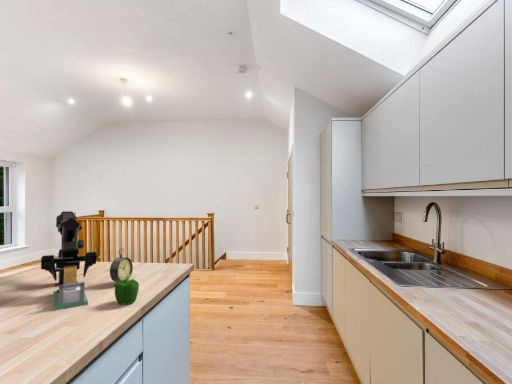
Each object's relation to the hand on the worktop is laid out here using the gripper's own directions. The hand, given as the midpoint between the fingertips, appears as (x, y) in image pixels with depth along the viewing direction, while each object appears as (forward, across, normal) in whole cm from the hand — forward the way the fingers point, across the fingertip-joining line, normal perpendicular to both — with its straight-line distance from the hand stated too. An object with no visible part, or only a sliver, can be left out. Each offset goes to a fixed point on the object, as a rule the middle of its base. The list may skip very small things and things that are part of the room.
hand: (70, 278), depth 111 cm
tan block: (+6, 0, +3) cm, 7 cm away
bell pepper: (+17, +17, -6) cm, 25 cm away
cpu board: (+6, 0, +5) cm, 8 cm away
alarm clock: (-2, +20, +13) cm, 24 cm away
